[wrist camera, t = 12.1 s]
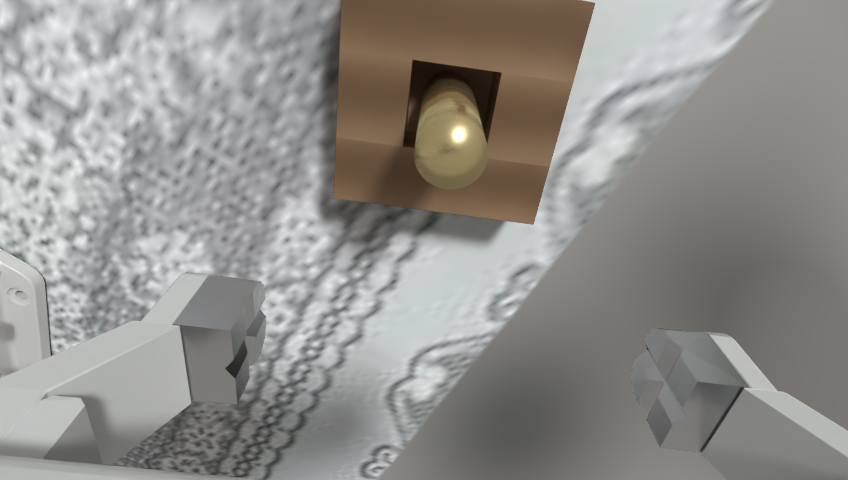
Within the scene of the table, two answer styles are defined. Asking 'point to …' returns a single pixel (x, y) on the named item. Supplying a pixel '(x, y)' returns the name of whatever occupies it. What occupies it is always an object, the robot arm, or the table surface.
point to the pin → (450, 133)
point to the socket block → (492, 86)
